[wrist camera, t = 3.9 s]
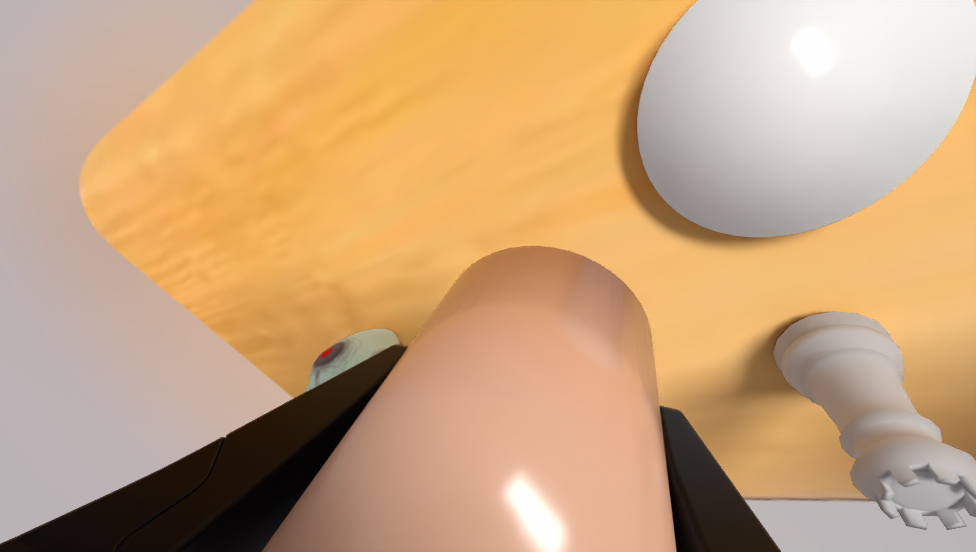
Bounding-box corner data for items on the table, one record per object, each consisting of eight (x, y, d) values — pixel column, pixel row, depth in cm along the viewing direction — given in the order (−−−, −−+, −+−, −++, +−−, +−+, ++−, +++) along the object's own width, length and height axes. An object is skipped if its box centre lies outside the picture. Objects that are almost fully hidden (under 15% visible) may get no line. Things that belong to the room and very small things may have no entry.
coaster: (1042, 59, 13) (1071, 59, 12) (762, 270, 18) (769, 280, 17) (796, -137, 12) (808, -151, 11) (587, 139, 18) (585, 144, 17)
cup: (625, 436, 10) (633, 926, 4) (445, 390, 11) (266, 738, 5) (680, 266, 7) (857, 889, 2) (441, 230, 8) (110, 560, 3)
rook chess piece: (794, 392, 20) (872, 554, 14) (753, 328, 20) (816, 470, 13) (904, 363, 18) (1061, 542, 12) (863, 289, 17) (1009, 438, 11)
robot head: (363, 364, 30) (302, 436, 24) (332, 321, 29) (260, 386, 23) (447, 343, 26) (397, 421, 21) (415, 292, 25) (353, 361, 19)
